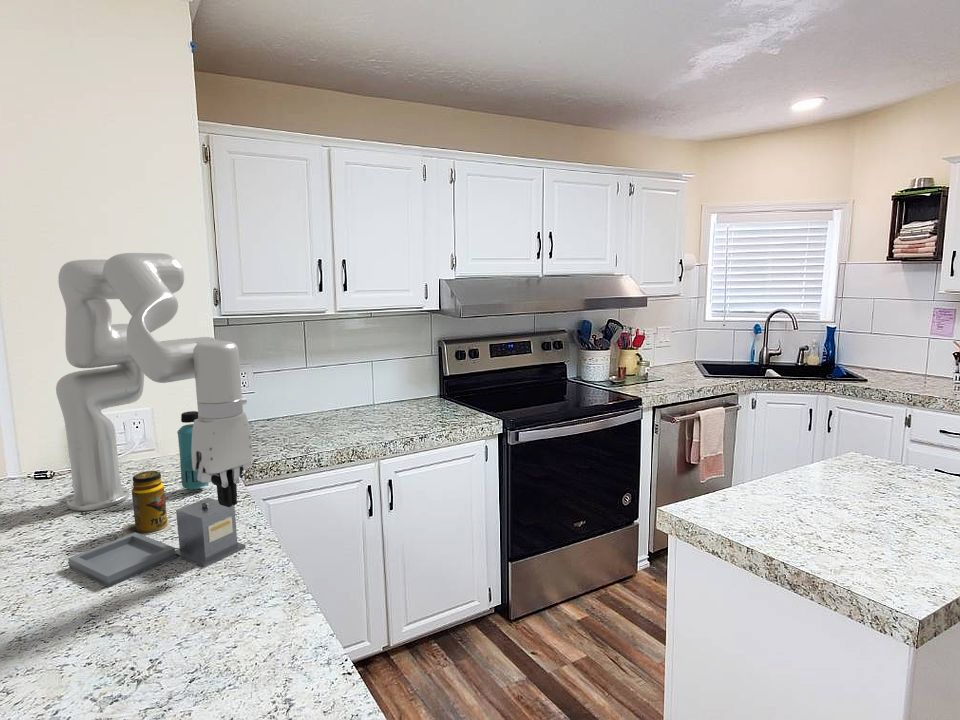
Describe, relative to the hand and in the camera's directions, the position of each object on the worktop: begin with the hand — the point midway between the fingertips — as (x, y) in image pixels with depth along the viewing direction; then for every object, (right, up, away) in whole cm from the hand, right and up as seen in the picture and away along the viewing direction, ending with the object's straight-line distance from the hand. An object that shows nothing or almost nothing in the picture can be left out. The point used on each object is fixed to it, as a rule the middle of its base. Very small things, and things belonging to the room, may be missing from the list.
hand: (228, 504), depth 111 cm
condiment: (-24, -9, +16) cm, 30 cm away
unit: (-6, -10, +5) cm, 13 cm away
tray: (-20, -11, +1) cm, 23 cm away
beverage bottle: (-24, -6, +38) cm, 45 cm away
